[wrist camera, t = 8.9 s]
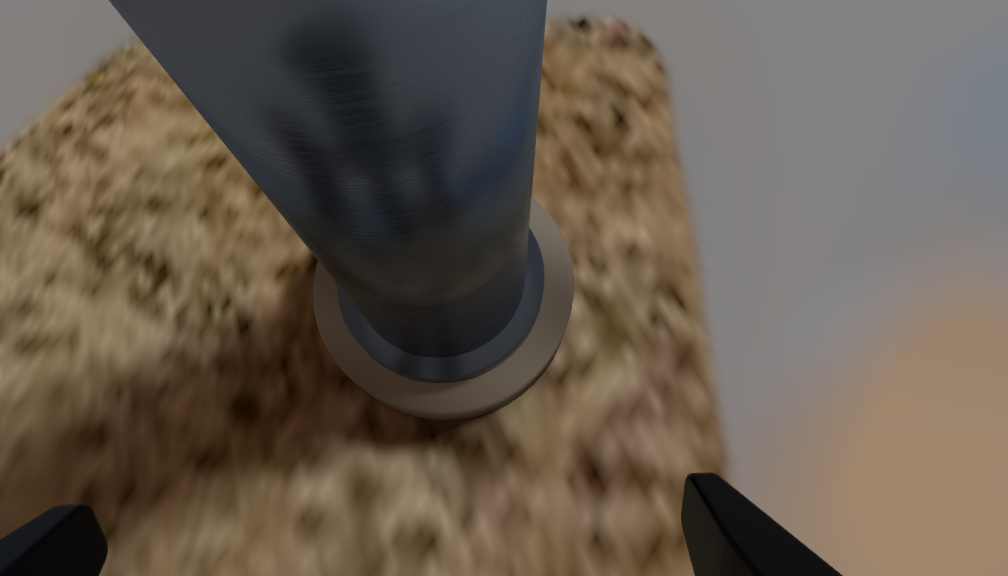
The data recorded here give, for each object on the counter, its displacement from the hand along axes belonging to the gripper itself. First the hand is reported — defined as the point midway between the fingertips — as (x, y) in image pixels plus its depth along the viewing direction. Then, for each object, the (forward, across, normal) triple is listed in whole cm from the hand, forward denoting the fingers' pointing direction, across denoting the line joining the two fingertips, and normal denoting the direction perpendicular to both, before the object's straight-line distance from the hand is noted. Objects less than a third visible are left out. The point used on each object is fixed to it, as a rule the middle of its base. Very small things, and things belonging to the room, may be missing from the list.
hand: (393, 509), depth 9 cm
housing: (+10, 0, +1) cm, 10 cm away
